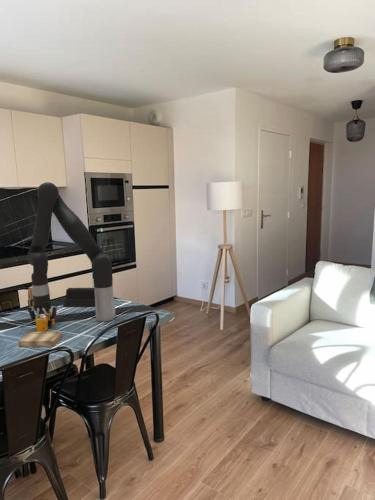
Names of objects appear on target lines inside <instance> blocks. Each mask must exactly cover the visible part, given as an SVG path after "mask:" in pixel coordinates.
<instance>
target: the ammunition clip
mask: <svg viewBox="0 0 375 500" xmlns="http://www.w3.org/2000/svg"><path fill="white" fill-rule="evenodd" d="M27 299H28V300H27V309H28V308H29V307H33V306H34V303H33V294H32V287H28V289H27Z"/></svg>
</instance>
